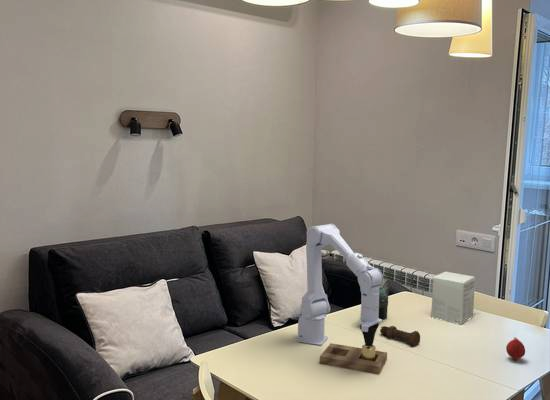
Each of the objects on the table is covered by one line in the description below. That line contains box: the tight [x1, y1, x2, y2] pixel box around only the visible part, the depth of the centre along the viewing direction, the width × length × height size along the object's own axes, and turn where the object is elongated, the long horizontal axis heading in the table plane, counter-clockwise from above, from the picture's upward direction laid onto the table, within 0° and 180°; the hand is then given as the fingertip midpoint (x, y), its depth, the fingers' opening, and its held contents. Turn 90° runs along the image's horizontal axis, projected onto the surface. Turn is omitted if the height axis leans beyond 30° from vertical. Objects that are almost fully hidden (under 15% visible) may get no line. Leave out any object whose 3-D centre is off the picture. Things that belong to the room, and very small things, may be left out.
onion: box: [505, 336, 526, 361], centre depth 176 cm, size 6×6×8 cm
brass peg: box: [361, 344, 377, 361], centre depth 173 cm, size 4×4×6 cm
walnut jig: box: [319, 342, 388, 375], centre depth 175 cm, size 20×12×2 cm, turn 67°
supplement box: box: [430, 271, 476, 325], centre depth 217 cm, size 13×13×18 cm
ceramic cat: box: [378, 277, 391, 321], centre depth 210 cm, size 20×6×20 cm, turn 144°
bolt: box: [379, 325, 421, 347], centre depth 194 cm, size 6×5×15 cm
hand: (368, 345), depth 172 cm, fingers closed
